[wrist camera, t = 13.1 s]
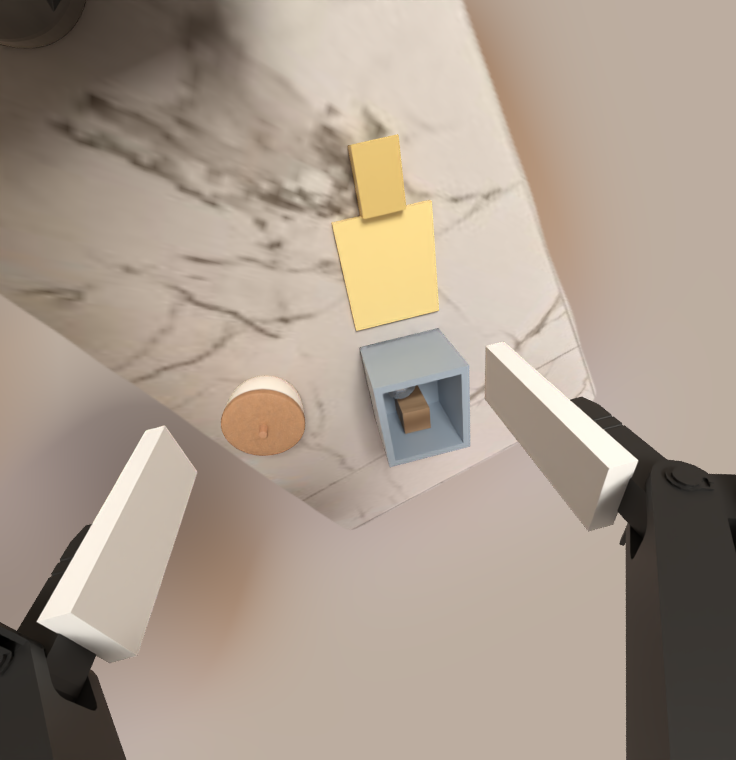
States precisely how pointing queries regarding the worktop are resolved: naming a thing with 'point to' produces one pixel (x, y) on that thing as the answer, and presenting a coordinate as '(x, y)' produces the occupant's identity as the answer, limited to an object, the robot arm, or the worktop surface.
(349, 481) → the worktop surface
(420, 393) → the walnut part
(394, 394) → the steel part
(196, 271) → the worktop surface
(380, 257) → the lid
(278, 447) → the lidded jar
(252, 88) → the worktop surface
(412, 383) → the tub
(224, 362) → the worktop surface
